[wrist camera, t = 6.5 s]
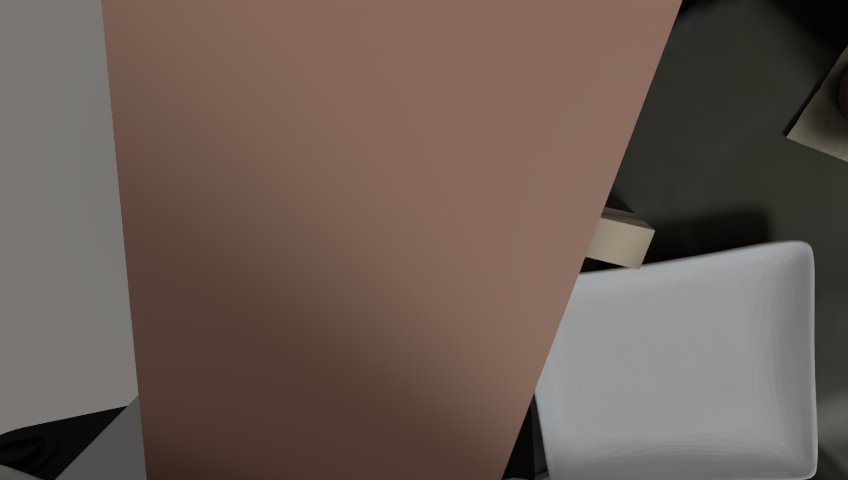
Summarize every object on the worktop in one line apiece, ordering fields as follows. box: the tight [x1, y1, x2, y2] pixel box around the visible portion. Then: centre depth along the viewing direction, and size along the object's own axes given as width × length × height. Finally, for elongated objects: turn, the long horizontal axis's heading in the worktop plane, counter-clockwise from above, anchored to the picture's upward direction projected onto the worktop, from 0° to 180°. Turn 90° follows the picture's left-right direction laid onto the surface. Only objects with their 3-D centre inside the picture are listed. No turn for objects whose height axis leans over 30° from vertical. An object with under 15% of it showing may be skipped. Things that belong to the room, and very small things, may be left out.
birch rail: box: [585, 207, 655, 270], centre depth 33 cm, size 26×3×5 cm, turn 79°
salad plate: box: [534, 240, 818, 480], centre depth 35 cm, size 21×21×3 cm
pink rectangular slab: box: [101, 0, 682, 480], centre depth 12 cm, size 16×4×14 cm, turn 168°
